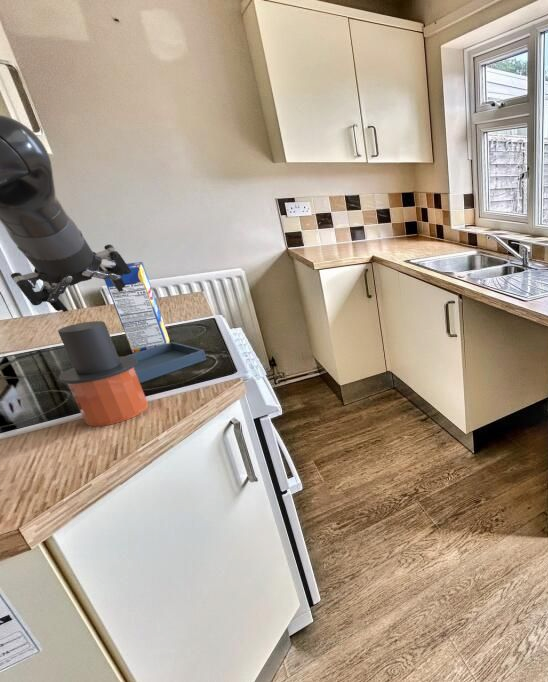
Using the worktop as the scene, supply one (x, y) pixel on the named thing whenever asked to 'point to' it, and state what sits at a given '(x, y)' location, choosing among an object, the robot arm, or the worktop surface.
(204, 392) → the worktop surface
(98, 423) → the cup
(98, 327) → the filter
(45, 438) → the worktop surface
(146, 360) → the tray
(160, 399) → the worktop surface
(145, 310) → the beverage box
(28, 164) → the robot arm
